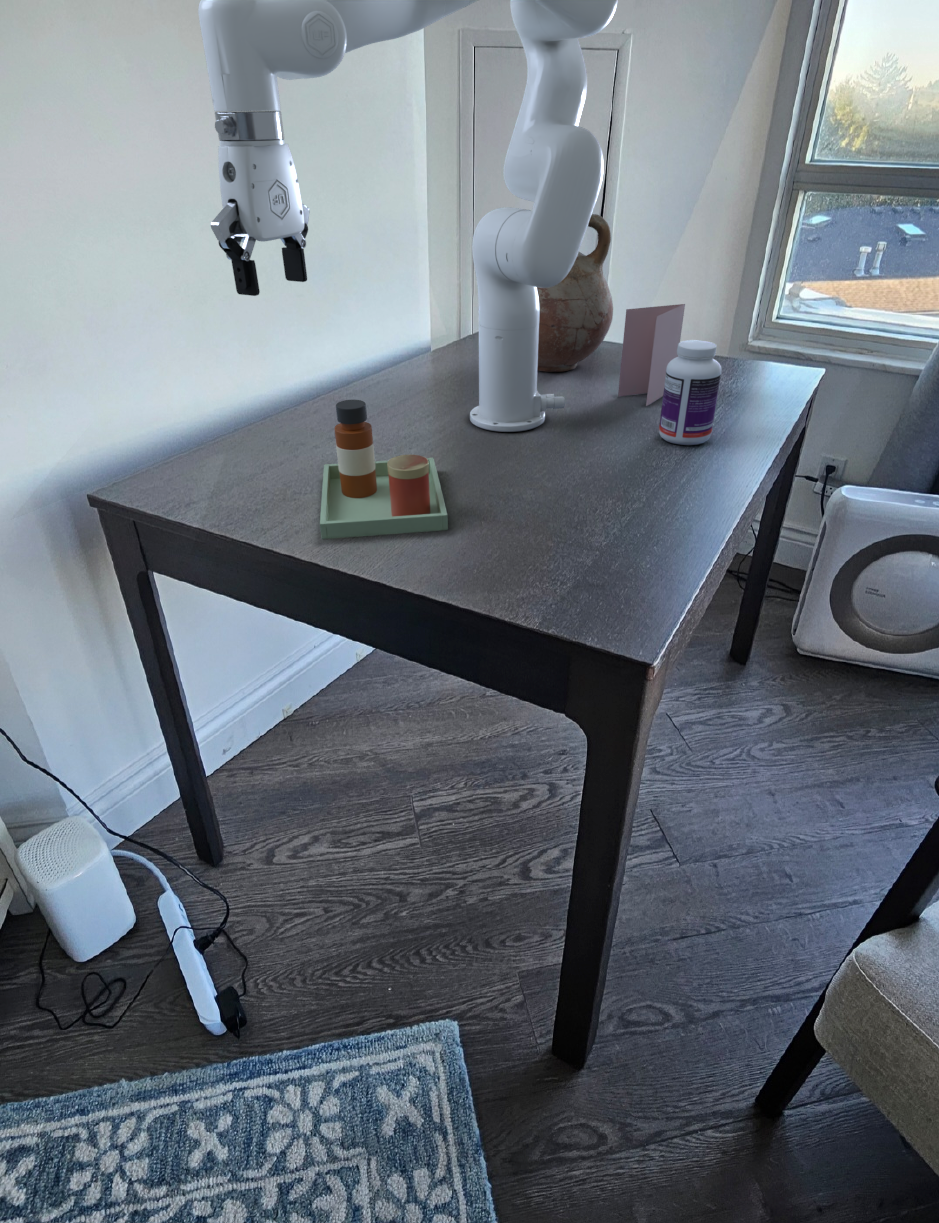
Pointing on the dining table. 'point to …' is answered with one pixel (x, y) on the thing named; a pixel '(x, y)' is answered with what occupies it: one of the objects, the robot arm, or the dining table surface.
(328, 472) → the tray
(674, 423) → the pill bottle
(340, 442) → the spice bottle
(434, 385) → the dining table surface
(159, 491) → the dining table surface
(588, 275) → the jug
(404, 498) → the tea tin
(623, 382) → the greeting card
